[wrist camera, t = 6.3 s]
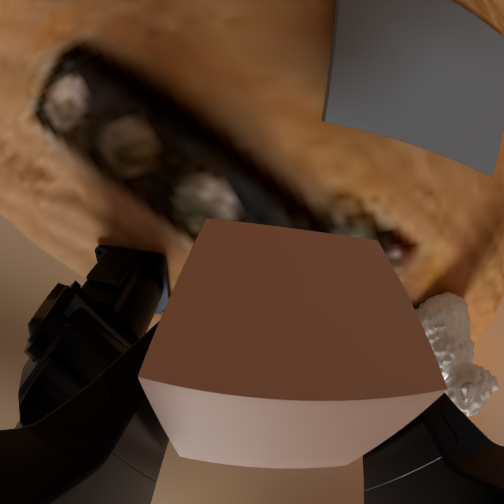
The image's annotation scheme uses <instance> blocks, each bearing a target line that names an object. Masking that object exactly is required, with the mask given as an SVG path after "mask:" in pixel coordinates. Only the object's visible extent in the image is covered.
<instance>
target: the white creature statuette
mask: <svg viewBox="0 0 504 504" xmlns="http://www.w3.org/2000/svg"><path fill="white" fill-rule="evenodd" d="M415 311H416V313H417V315H418V317H419V320H420V322H421V324H422V326H423V328H424V331H425V333H426V335H427V337H428V340H429V342H430V344H431V347H432V349H433V351H434V354H435V356H436V359H437V361H438V364H439V367H440V369H441V372H442V374H443V377H444V380H445V383H446V386H447V388H448V389H447V390H446V391H445V393H446V394H447V396H448V397H449V398H450V399H451V400H452V401H453V402H454V404H455V405H456V406H457V407H458V408H459V409H460V410H461V411H463V412H466V415H467V416H473V415H474V414H478V413H479V412H480V411H481V410H482V409H483V408H484V406H485V404H486V403H487V400H488V398H489V397H490V396H491V394H492V392H493V391H495V390H497V389H498V388H499V385H498V381H497V378H496V377H495V376H492V375H491V373H490V371H489V370H484V368H483V367H482V366H478V365H476V364H472V360H473V355H474V352H473V348H474V342H473V341H472V340H471V338H470V336H471V333H470V331H469V330H470V323H469V314H468V304H467V303H466V302H464V301H463V298H462V297H459V296H457V295H456V294H454V293H453V294H451V293H450V292H445V293H443V294H440V295H435V296H433V297H430V298H427V299H426V301H425V302H424V303H421V304H420V305H419V308H417V309H415Z"/></svg>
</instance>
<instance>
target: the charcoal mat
mask: <svg viewBox="0 0 504 504" xmlns="http://www.w3.org/2000/svg"><path fill="white" fill-rule="evenodd" d="M322 121H324V122H328V123H333V124H338V125H343V126H347V127H351V128H356V129H360V130H364V131H368V132H372V133H375V134H379V135H383V136H386V137H390V138H393V139H396V140H399V141H403V142H406V143H409V144H412V145H415V146H418V147H421V148H424V149H427V150H429V151H432V152H435V153H437V154H440V155H443V156H445V157H448V158H450V159H453V160H455V161H458V162H460V163H462V164H465V165H467V166H469V167H471V168H474V169H476V170H478V171H480V172H482V173H484V174H486V175H488V176H490V177H492V175H493V172H494V168H495V164H496V160H497V156H498V152H499V148H500V143H501V138H502V133H503V127H504V37H503V36H501V35H500V34H499V33H498V32H497V31H495V30H494V29H493V28H491V27H490V26H489V25H487V24H486V23H485V22H483V21H482V20H481V19H479V18H478V17H476V16H475V15H474V14H472V13H471V12H469V11H468V10H466V9H465V8H463V7H461V6H460V5H458V4H457V3H455V2H453V1H452V0H336V8H335V19H334V30H333V40H332V49H331V57H330V66H329V74H328V81H327V89H326V96H325V103H324V110H323V116H322Z"/></svg>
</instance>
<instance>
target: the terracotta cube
mask: <svg viewBox="0 0 504 504" xmlns="http://www.w3.org/2000/svg"><path fill="white" fill-rule="evenodd" d="M138 379H139V381H140V383H141V385H142V388H143V390H144V392H145V394H146V396H147V398H148V400H149V402H150V404H151V406H152V408H153V410H154V412H155V414H156V416H157V418H158V420H159V421H160V423H161V425H162V427H163V429H164V431H165V432H166V434H167V436H168V438H169V439H170V441H171V443H172V444H173V446H174V448H175V449H176V451H177V453H178V454H179V456H181V457H185V458H190V459H195V460H201V461H207V462H214V463H221V464H229V465H237V466H238V465H239V466H248V467H264V468H318V467H332V466H344V465H347V464H349V463H351V462H352V461H354V460H356V459H357V458H359V457H361V456H362V455H364V454H366V453H367V452H369V451H370V450H372V449H373V448H375V447H376V446H378V445H379V444H381V443H382V442H384V441H385V440H387V439H388V438H390V437H391V436H392V435H394V434H395V433H396V432H398V431H399V430H401V429H402V428H403V427H404V426H406V425H407V424H408V423H410V422H411V421H412V420H413V419H415V418H416V417H417V416H418V415H419V414H421V413H422V412H423V411H424V410H425V409H427V408H428V407H429V406H430V405H431V404H432V403H433V402H434V401H436V400H437V399H438V398H439V397H440V396H441V395H442V394H443V393H444V392H445V391H446V390H447V389H448V388H447V386H446V383H445V380H444V377H443V374H442V372H441V369H440V367H439V364H438V361H437V359H436V356H435V354H434V351H433V349H432V347H431V344H430V342H429V340H428V337H427V335H426V333H425V331H424V328H423V326H422V324H421V322H420V320H419V317H418V315H417V313H416V311H415V309H414V307H413V305H412V303H411V301H410V299H409V297H408V295H407V293H406V291H405V289H404V287H403V285H402V283H401V281H400V279H399V278H398V276H397V274H396V272H395V270H394V268H393V267H392V265H391V263H390V261H389V259H388V258H387V256H386V254H385V253H384V251H383V249H382V247H381V246H380V244H379V242H378V241H376V240H370V239H363V238H357V237H350V236H343V235H336V234H329V233H322V232H315V231H307V230H300V229H292V228H285V227H277V226H269V225H260V224H252V223H244V222H235V221H226V220H217V219H208V218H206V220H205V222H204V224H203V226H202V228H201V231H200V233H199V235H198V237H197V239H196V241H195V243H194V245H193V247H192V249H191V252H190V254H189V256H188V258H187V260H186V262H185V264H184V267H183V269H182V271H181V273H180V275H179V278H178V280H177V282H176V284H175V287H174V289H173V291H172V293H171V296H170V298H169V300H168V303H167V305H166V307H165V310H164V312H163V314H162V317H161V319H160V322H159V324H158V326H157V329H156V331H155V334H154V336H153V339H152V341H151V344H150V346H149V349H148V351H147V354H146V356H145V359H144V361H143V364H142V367H141V369H140V372H139V375H138Z"/></svg>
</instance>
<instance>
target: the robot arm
mask: <svg viewBox="0 0 504 504" xmlns="http://www.w3.org/2000/svg"><path fill="white" fill-rule="evenodd" d="M95 254H96V258H97V262H98V263H97V264H96V265H95V266H94V268H93V269H92V270H91V271H90V273H89V274H88V275H87V277H86V278H87V281H86V282H85V284H84V285H83V286H82V287H81V286H80V284H79V283H78V282H77V281H74V282H73V283H72V284H71V285H70V286H68V285H63V284H60V283H58V284H57V285H56V286H55V287H54V289H53V290H52V291H51V293H50V294H49V295H48V296H47V297H46V299H45V300H44V301H43V303H42V304H41V305H40V307H39V308H38V310H37V311H36V313H35V314H34V316H33V317H32V319H31V320H30V322H29V323H28V328H29V337H28V339H27V341H28V343H27V346H26V347H25V350H24V353H25V354H26V355H27V356H28V357H29V359H28V361H27V362H26V364H25V366H24V367H23V371H22V375H21V381H20V387H19V394H18V396H19V410H20V420H19V422H18V424H17V425H16V427H15V429H7V430H0V504H150V503H151V500H152V496H153V493H154V489H155V486H156V481H157V478H158V475H159V472H160V468H161V464H162V461H163V458H164V454H165V451H166V448H167V444H168V441H169V438H168V436H167V434H166V432H165V431H164V429H163V427H162V425H161V423H160V421H159V420H158V418H157V416H156V414H155V412H154V410H153V408H152V406H151V404H150V402H149V400H148V398H147V396H146V394H145V392H144V390H143V388H142V385H141V383H140V381H139V379H138V375H139V372H140V369H141V367H142V364H143V361H144V359H145V356H146V354H147V351H148V349H149V346H150V344H151V341H152V339H153V336H154V334H155V331H156V329H157V326H158V324H159V322H160V321H159V322H158V323H157V324H156V325H155V326H153V327H152V328H151V329H150V330H149V331H148V332H147V329H148V327H149V325H150V322H151V320H152V318H153V316H154V314H160V315H162V314H163V312H164V310H165V307H166V305H167V303H168V300H169V298H170V293H169V285H168V276H167V267H166V258H165V256H164V255H163V254H161V253H156V252H149V251H141V250H137V249H130V248H123V247H115V246H105V245H99V246H97V247H96V249H95ZM157 258H158V259H160V260H161V261H159V260H158V259H157ZM146 332H147V333H146ZM363 473H364V504H504V446H500V445H497V444H495V443H493V442H492V441H491V440H489V439H488V438H487V437H486V436H485V435H484V434H483V433H482V432H481V431H480V430H479V429H478V428H477V427H476V426H475V425H474V424H473V423H472V422H471V421H470V420H469V419H468V418H467V417H466V415H465V414H464V413H463V412H462V411H461V410H460V409H459V408H458V407H457V406H456V405H455V404H454V402H453V401H452V400H451V399H450V398H449V397H448V396H447V394H446V393H445V392H444V393H443V394H442V395H441V396H440V397H439V398H438V399H437V400H436V401H434V402H433V403H432V404H431V405H430V406H429V407H428V408H427V409H425V410H424V411H423V412H422V413H421V414H419V415H418V416H417V417H416V418H415V419H413V420H412V421H411V422H410V423H408V424H407V425H406V426H404V427H403V428H402V429H401V430H399V431H398V432H396V433H395V434H394V435H392V436H391V437H390V438H388V439H387V440H385V441H384V442H382V443H381V444H379V445H378V446H376V447H375V448H373V449H372V450H370V451H369V452H367V453H366V454H364V455H363Z"/></svg>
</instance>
